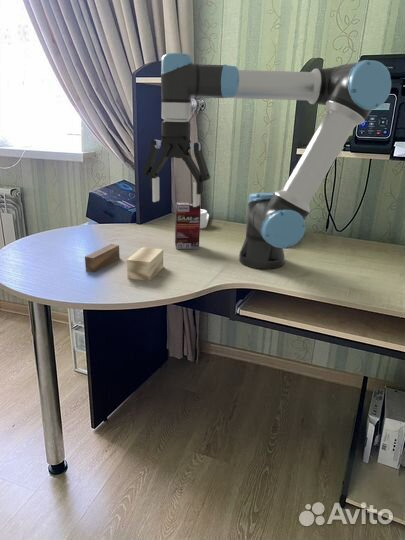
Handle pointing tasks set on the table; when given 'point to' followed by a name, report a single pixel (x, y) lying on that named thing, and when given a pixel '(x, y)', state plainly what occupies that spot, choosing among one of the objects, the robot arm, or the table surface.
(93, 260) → the walnut rail
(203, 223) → the white block
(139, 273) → the oak block
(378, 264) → the table surface
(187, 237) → the supplement box
